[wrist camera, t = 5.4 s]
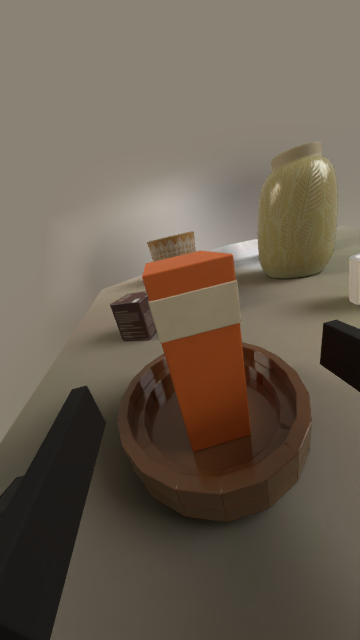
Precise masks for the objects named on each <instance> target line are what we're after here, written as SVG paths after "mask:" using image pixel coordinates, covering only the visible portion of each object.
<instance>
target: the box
mask: <svg viewBox="0 0 360 640" xmlns="http://www.w3.org/2000/svg"><path fill="white" fill-rule="evenodd" d="M110 306H111V309H112V312H113V314H114V317H115V320H116V323H117V326H118V328H119V331H120V334H121V336H122V339H123V340H124V341H125V340H149V339H151V338H152V337H153V335H154V334H155V333H156V331H157V330H156V327H155V324H154V320H153V317H152V313H151V310H150V306H149V299H148V295H147V292H139V293H132V294H127V295H125V296H124V297H122V298H120V299H119V300H117V301H115V302H114V303H112V304H110Z"/></svg>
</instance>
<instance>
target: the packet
mask: <svg viewBox="0 0 360 640" xmlns="http://www.w3.org/2000/svg"><path fill="white" fill-rule="evenodd" d="M142 278H143V281H144V285H145V288H146V292H147V295H148V299H149V306H150V310H151V313H152V317H153V320H154V324H155V327H156V330H157V334H158V337H159V341H160V343H161V344H162V347H163V351H164V354H165V358H166V361H167V365H168V368H169V371H170V375H171V378H172V382H173V385H174V389H175V392H176V396H177V399H178V403H179V406H180V410H181V413H182V417H183V420H184V423H185V427H186V430H187V434H188V437H189V441H190V444H191V448H192V451H193V452H195V451H198V450H202V449H205V448H208V447H212V446H215V445H219V444H222V443H225V442H229V441H232V440H236V439H239V438H242V437H246V436H249V435H251V429H250V419H249V410H248V400H247V390H246V380H245V370H244V360H243V350H242V340H241V330H240V323H241V315H240V305H239V295H238V285H237V280H235V271H234V261H233V255H232V254H226V253H217V252H207V251H197V252H193V253H188V254H184V255H180V256H176V257H172V258H167V259H163V260H159V261H155V262H151V263H146V265H145V269H144V273H143V276H142Z"/></svg>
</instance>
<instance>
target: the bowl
mask: <svg viewBox="0 0 360 640" xmlns="http://www.w3.org/2000/svg"><path fill="white" fill-rule="evenodd" d="M242 350H243V360H244V370H245V380H246V390H247V400H248V410H249V419H250V429H251V435H249V436H246V437H242V438H239V439H236V440H232V441H229V442H225V443H222V444H219V445H215V446H212V447H208V448H205V449H202V450H198V451H195V452H193V451H192V448H191V444H190V441H189V437H188V434H187V430H186V427H185V423H184V420H183V417H182V413H181V410H180V406H179V403H178V399H177V396H176V392H175V389H174V385H173V382H172V378H171V375H170V371H169V368H168V365H167V361H166V358H165V354H162V355H161V356H159V357H158V358H156V359H155V360H153V361H152V362H150V363H149V364H148V365H146V366H145V367H144V368H143V369H142V370H141V371H140V372H139V373H138V374H137V375H136V376H135V377H134V379H133V380H132V381H131V383H130V385H129V386H128V388H127V390H126V392H125V394H124V395H123V397H122V399H121V404H120V409H119V414H118V419H117V425H118V430H119V434H120V439H121V444H122V448H123V450H124V452H125V454H126V456H127V458H128V460H129V462H130V464H131V466H132V468H133V470H134V472H135V473H136V474H137V476H138V477H139V479H140V480H141V481H142V483H143V484H144V486H145V487H146V488H147V490H148V491H149V493H150V494H151V495H152V497H154V498H155V499H157V500H158V501H160V502H162V503H163V504H165V505H167V506H168V507H170V508H172V509H173V510H175V511H177V512H178V513H180V514H182V515H183V516H186V517H191V518H199V519H207V520H215V521H223V522H227V521H232V520H235V519H238V518H242V517H245V516H248V515H251V514H254V513H257V512H261V511H264V510H267V509H268V508H270V507H271V506H272V505H273V504H274V503H276V502H277V501H278V500H279V499H280V498H281V497H282V496H283V495H284V494H285V493H286V492H287V491H288V490H289V489H291V488H292V487H293V486H294V485H295V484H296V483H297V482H298V480H299V477H300V474H301V472H302V469H303V467H304V464H305V461H306V459H307V456H308V453H309V450H310V437H311V425H312V419H311V408H310V397H309V393H308V391H307V389H306V388H305V386H304V384H303V382H302V381H301V379H300V377H299V375H298V374H297V372H296V371H295V370H294V369H293V368H291V367H290V366H289V365H288V364H287V363H286V362H285V361H283V360H282V359H281V358H280V357H278V356H277V355H275V354H273V353H271V352H269V351H267V350H265V349H263V348H261V347H258V346H255V345H251V344H247V343H243V342H242Z"/></svg>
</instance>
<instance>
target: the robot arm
mask: <svg viewBox="0 0 360 640" xmlns="http://www.w3.org/2000/svg"><path fill="white" fill-rule="evenodd" d="M320 364H321V365H322V366H324V367H325V368H326V369H328V370H329V371H331V372H332V373H334V374H335V375H336V376H338V377H339V378H341V379H342V380H344V381H345V382H346V383H348V384H349V385H351V386H352V387H353V388H355V389H356V390H358V391H359V392H360V329H358V328H356V327H353V326H351V325H348V324H346V323H343V322H341V321H338V320H334V321H330V322H326V323H323V335H322V346H321V358H320ZM105 424H106V422H105V420H104V418H103V416H102V414H101V412H100V410H99V409H98V407H97V405H96V403H95V401H94V399H93V397H92V395H91V393H90V391H89V389H88V387H87V386H83V387H80V388H76V389H72V390H71V392H70V394H69V396H68V398H67V399H66V401H65V403H64V405H63V407H62V409H61V410H60V412H59V414H58V416H57V418H56V419H55V421H54V423H53V425H52V427H51V428H50V430H49V432H48V434H47V436H46V438H45V439H44V441H43V443H42V445H41V447H40V448H39V450H38V452H37V454H36V456H35V457H34V459H33V461H32V463H31V465H30V467H29V468H28V470H27V472H26V474H25V475H24V476H20V477H17V478H16V479H15V480H14V481H13V482H12V483H11V484H10V486H9V487H8V488H7V489H6V490H5V491H4V493H3V494H2V495H1V496H0V640H50V637H51V633H52V629H53V625H54V622H55V618H56V614H57V610H58V606H59V602H60V598H61V594H62V591H63V587H64V583H65V579H66V575H67V571H68V567H69V563H70V560H71V556H72V552H73V548H74V544H75V540H76V536H77V532H78V529H79V525H80V521H81V517H82V513H83V509H84V505H85V501H86V497H87V494H88V490H89V486H90V482H91V478H92V474H93V470H94V466H95V463H96V459H97V455H98V451H99V447H100V443H101V439H102V435H103V432H104V428H105Z"/></svg>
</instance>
